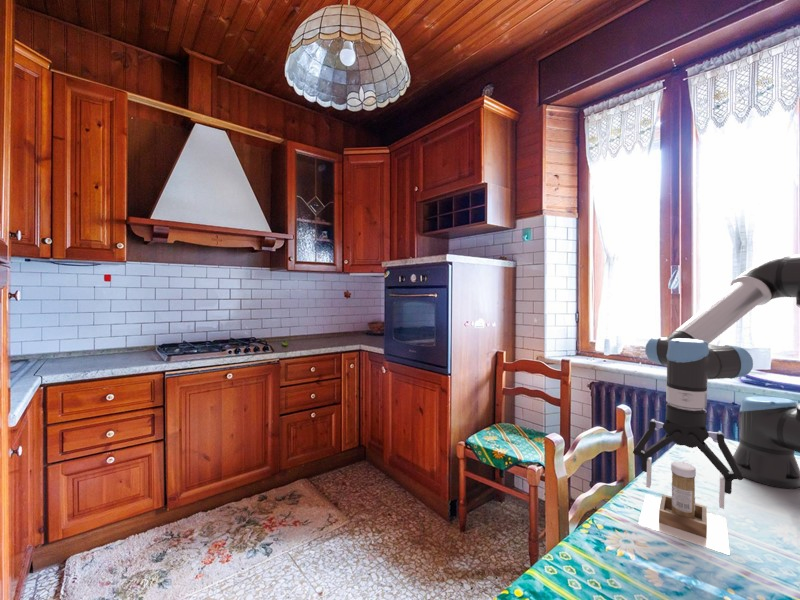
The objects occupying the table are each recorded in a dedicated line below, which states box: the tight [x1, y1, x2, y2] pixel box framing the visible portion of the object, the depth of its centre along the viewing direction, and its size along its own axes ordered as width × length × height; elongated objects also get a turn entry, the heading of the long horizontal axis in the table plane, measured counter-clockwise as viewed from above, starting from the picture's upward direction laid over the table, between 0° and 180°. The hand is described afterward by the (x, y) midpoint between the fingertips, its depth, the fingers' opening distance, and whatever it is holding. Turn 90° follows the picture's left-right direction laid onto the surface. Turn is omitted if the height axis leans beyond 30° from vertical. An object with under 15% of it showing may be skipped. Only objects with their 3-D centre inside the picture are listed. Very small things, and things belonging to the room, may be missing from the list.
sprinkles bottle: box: [670, 460, 697, 519], centre depth 88 cm, size 5×5×14 cm
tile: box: [637, 494, 731, 556], centre depth 88 cm, size 16×16×1 cm
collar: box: [659, 493, 708, 538], centre depth 88 cm, size 9×9×3 cm
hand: (683, 495), depth 88 cm, fingers open, 13 cm apart
